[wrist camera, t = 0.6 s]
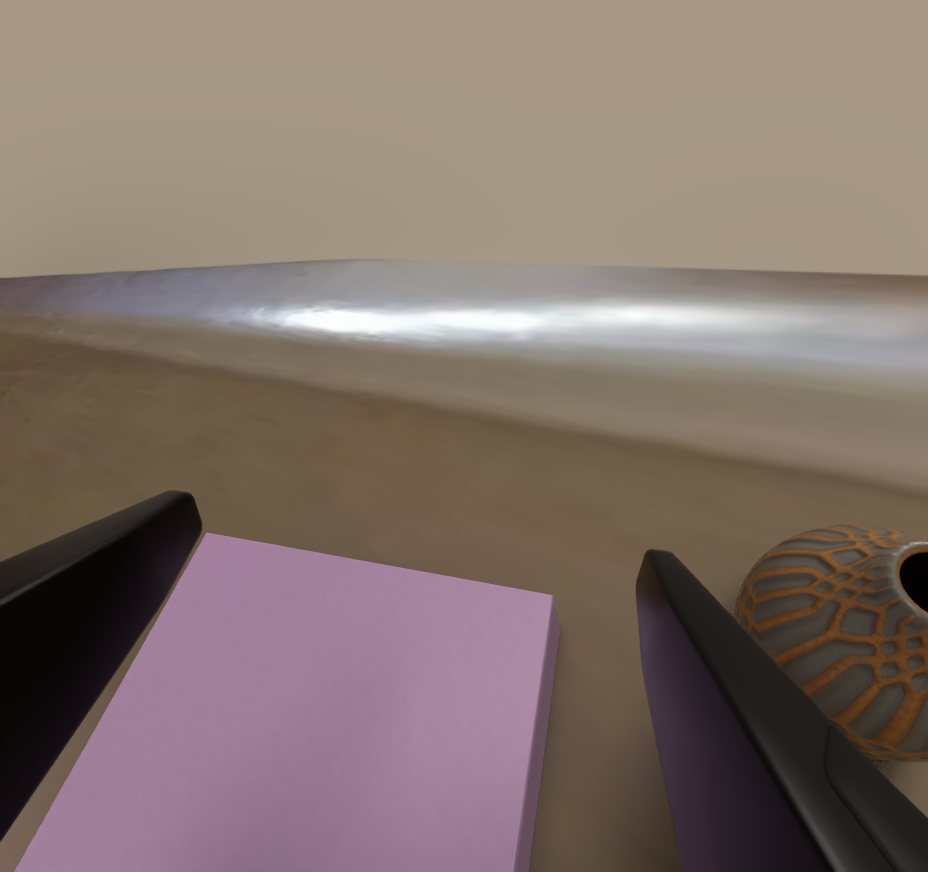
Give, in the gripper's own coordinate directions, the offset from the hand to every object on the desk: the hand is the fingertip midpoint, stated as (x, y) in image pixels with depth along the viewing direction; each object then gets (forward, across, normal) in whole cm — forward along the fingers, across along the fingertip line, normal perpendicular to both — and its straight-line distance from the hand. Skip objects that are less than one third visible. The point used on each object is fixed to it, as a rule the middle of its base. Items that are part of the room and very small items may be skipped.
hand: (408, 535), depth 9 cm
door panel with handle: (0, +5, +12) cm, 13 cm away
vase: (+7, -14, +10) cm, 19 cm away
